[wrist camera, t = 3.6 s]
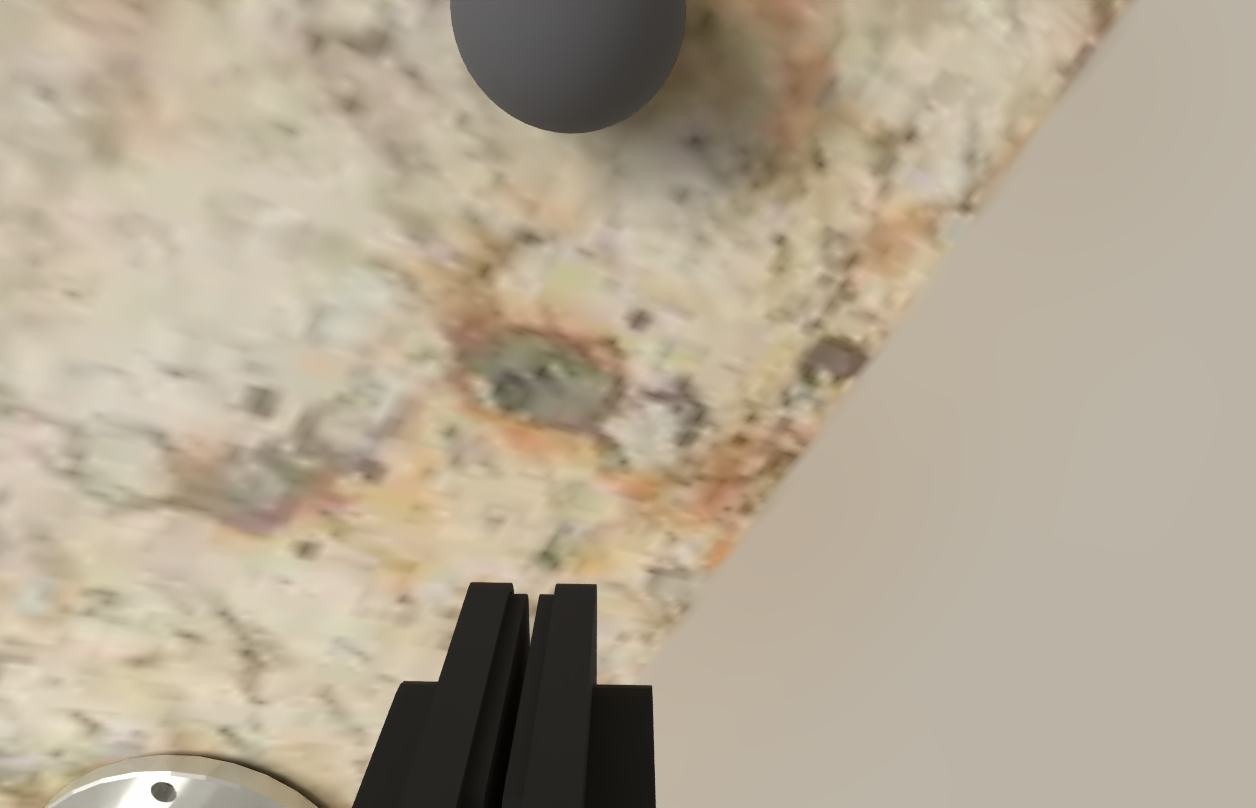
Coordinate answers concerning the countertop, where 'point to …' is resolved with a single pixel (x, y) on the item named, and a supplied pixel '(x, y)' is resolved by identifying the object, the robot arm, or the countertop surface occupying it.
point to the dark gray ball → (569, 56)
